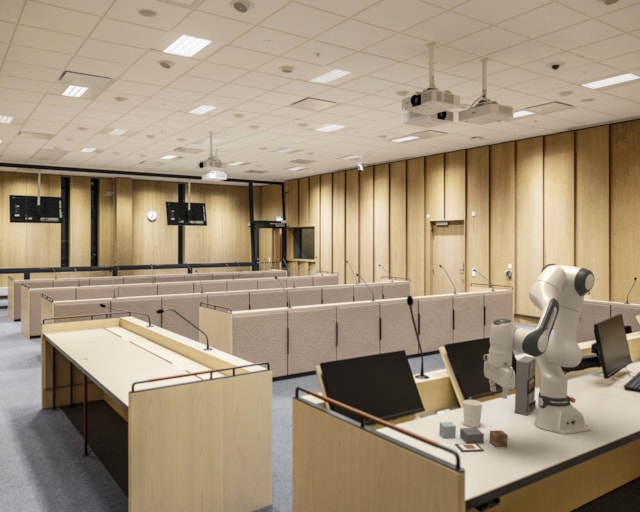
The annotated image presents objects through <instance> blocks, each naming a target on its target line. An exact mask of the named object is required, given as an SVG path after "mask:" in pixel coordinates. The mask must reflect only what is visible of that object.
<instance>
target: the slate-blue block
mask: <svg viewBox="0 0 640 512" xmlns="http://www.w3.org/2000/svg"><path fill="white" fill-rule="evenodd" d="M456 427H457V425H455V424H454V423H453V422H451V421H447V422H445V421H442V422H439V435H440V437H442V439H456V435H457V434H456V432H457V431H456V429H457V428H456Z"/></svg>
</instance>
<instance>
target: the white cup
mask: <svg viewBox="0 0 640 512" xmlns="http://www.w3.org/2000/svg"><path fill="white" fill-rule="evenodd" d="M462 405H463V408H462V409H463V424H464V425H465V426H466V427H468V428H478V427H480V426H481V418H482V408H483V407H482V406H483V402H482V401H480V400H478V399H477V400H476V399H465V400H463V404H462Z"/></svg>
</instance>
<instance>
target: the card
mask: <svg viewBox="0 0 640 512" xmlns="http://www.w3.org/2000/svg"><path fill="white" fill-rule="evenodd" d="M454 446H456V448H457V449H458V450H459V451H460V452H461V453H471V452H472V453H473V452H474V453H476V452H484V451H485V450H484V449H483V448H482V447H481V446H480V445H479V444H477V443H468V444H467V443H454Z"/></svg>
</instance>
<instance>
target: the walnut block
mask: <svg viewBox="0 0 640 512" xmlns="http://www.w3.org/2000/svg"><path fill="white" fill-rule="evenodd" d="M508 437H509V436H508V434H507V433H506V432H504V431H503V430H502V429H501V430H489V444H490V445H491V444H492V446H493V447H494V448H495V449H498V448H497V447H504V448H508V439H509V438H508Z"/></svg>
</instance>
